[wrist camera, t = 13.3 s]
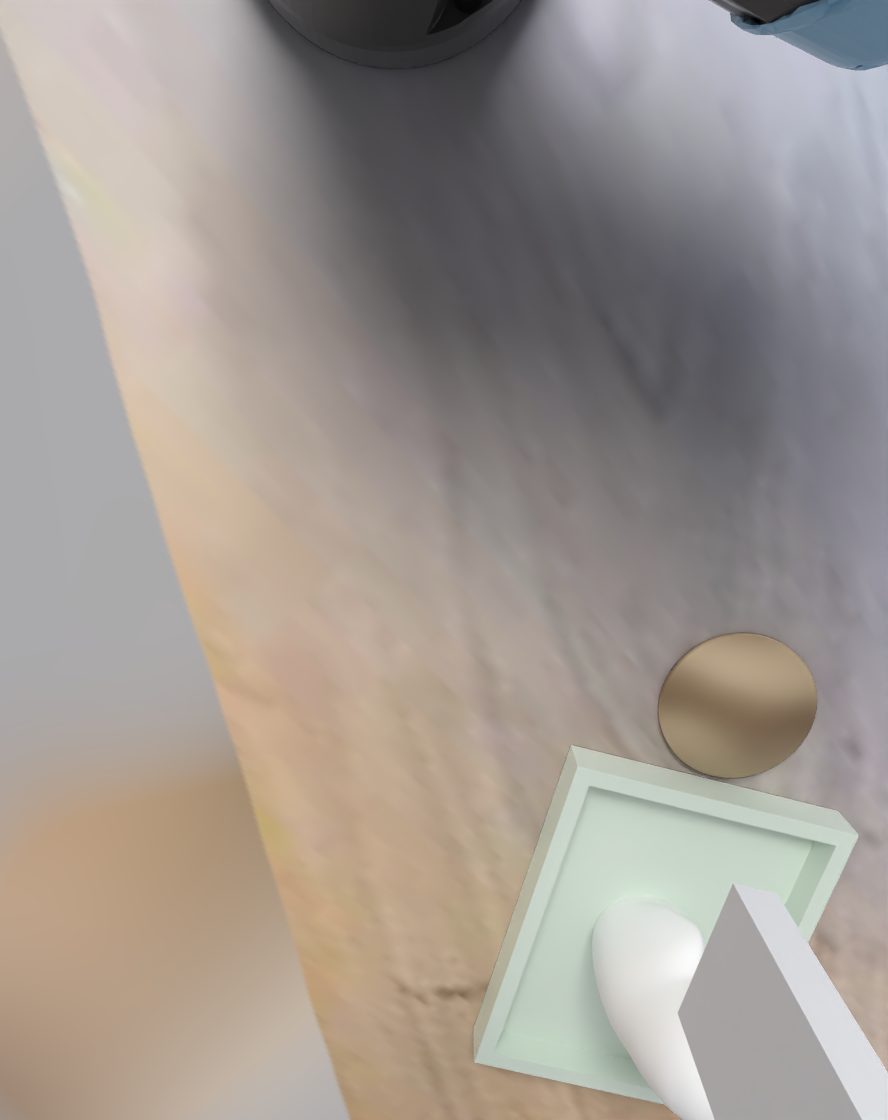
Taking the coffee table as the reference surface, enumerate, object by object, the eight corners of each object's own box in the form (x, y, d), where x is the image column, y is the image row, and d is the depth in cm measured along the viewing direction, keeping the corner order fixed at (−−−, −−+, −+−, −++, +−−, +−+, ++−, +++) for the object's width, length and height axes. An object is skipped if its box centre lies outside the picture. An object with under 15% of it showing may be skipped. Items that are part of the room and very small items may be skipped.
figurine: (725, 944, 45) (819, 1140, 34) (620, 995, 46) (676, 1202, 35) (672, 862, 44) (751, 1038, 32) (565, 917, 45) (604, 1107, 33)
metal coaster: (663, 632, 41) (666, 635, 40) (822, 632, 41) (826, 635, 40) (652, 773, 43) (654, 777, 43) (802, 773, 43) (806, 778, 42)
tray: (570, 744, 43) (577, 766, 40) (837, 810, 44) (859, 835, 41) (473, 1029, 48) (474, 1062, 46) (711, 1082, 49) (724, 1117, 47)
